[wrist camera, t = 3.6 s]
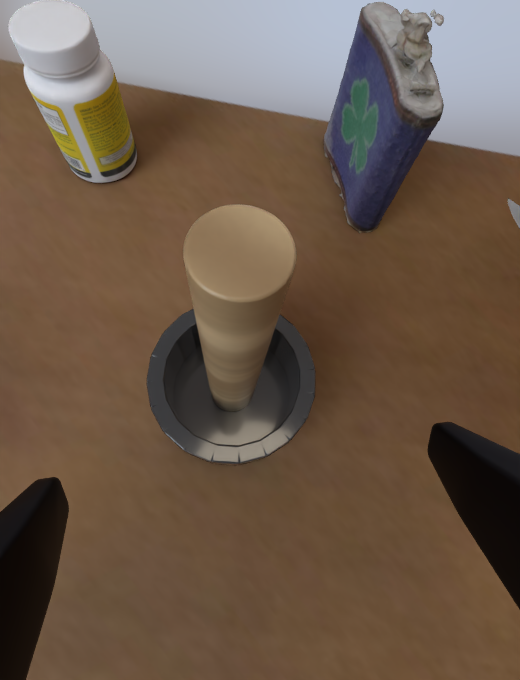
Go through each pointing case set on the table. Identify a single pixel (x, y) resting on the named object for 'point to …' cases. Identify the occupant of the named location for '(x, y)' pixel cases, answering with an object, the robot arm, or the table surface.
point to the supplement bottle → (74, 88)
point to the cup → (215, 423)
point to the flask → (382, 110)
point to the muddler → (237, 294)
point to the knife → (515, 211)
